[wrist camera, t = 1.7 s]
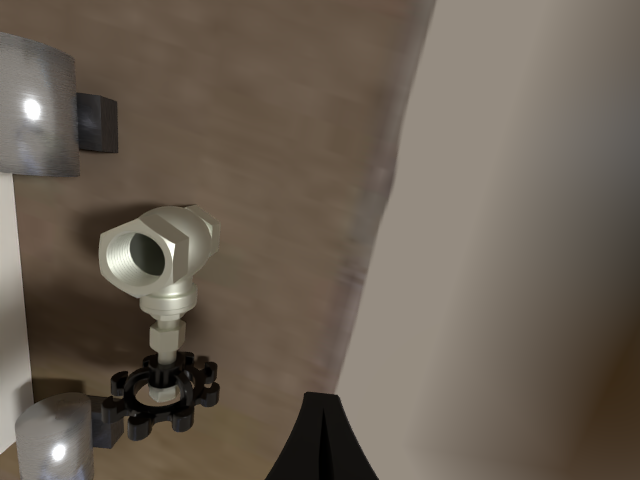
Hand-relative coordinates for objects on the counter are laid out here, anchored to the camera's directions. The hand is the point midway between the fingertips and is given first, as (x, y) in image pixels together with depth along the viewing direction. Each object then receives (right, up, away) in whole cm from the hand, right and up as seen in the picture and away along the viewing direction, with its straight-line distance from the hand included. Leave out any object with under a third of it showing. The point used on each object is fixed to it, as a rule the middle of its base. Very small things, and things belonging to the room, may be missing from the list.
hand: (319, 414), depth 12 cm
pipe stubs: (-16, +4, +9) cm, 19 cm away
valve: (-9, +4, +9) cm, 13 cm away
